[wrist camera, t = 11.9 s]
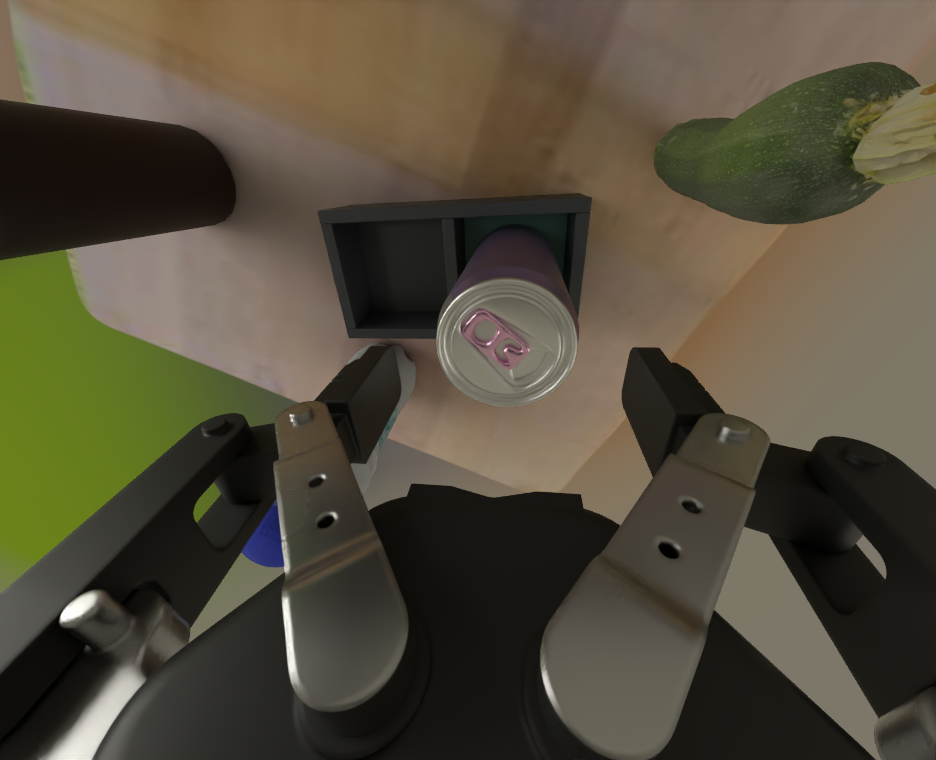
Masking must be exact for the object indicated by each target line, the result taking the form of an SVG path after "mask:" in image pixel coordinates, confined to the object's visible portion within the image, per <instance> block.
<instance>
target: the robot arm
mask: <svg viewBox="0 0 936 760" xmlns="http://www.w3.org/2000/svg"><path fill="white" fill-rule="evenodd" d="M400 397H401V380H400V375H399V369H398V364H397V359H396V353H395V350H394V348H393V346H370V347H369V348H368V349H367V350H366V352H365V353H364V354H363V355H362V356H361V357H360V359H356V360H354V361H352V362H351V363H349V364H347V365H346V366H344V368H343V369H342V370H341V371H340V372H339V373H338V375H336V377H335V378H334V379H333V380H332V382H330V383H329V384H328V386H327V387H326V388H325V389H324V390H323V391H322V392H321V393H320V395H319V396H318V397H317V398H316V399H315V400H314V401H307V402H302V403H298V404H296V405H293V406H291V407H289V408H287V409H286V410H284V411H283V412H281V413H280V414H279V415H278V416H277V418H276V420H275V423H273V424H267V425H261V426H255V427H249V425H248V423H247V421H246V419H245V417H244V416H243V415H241V414H237V413H231V414H224V415H219V416H216V417H214V418H211V419H208V420H207V421H204V422H202V423H201V424H199V425H197V426H196V427H195V428H193V429H192V430H191V431H190V432H189V433H188V434H186V435H185V436H184V437H183V438H182V439H181V440H179V441H178V442H177V443H176V444H175V445H174V446H172V447H171V448H170V449H169V450H168V451H167V452H166V453H164V454H163V455H162V456H161V457H160V458H158V459H157V460H156V461H155V462H154V463H153V464H151V465H150V466H149V467H148V468H147V469H146V470H144V472H142V473H141V474H140V475H139V476H137V477H136V478H135V479H134V480H133V481H132V482H130V483H129V484H128V485H127V486H126V487H125V488H124V489H122V490H121V491H120V492H119V493H118V494H116V495H115V496H114V497H113V498H112V499H111V500H110V501H108V502H107V503H106V504H105V505H104V506H102V507H101V508H100V509H99V510H98V511H97V512H95V513H94V514H93V515H92V516H91V517H90V518H88V519H87V520H86V521H85V522H84V523H83V524H81V525H80V526H79V527H78V528H77V529H76V530H74V531H73V532H72V533H71V534H70V535H69V536H67V537H66V538H65V539H64V540H63V541H62V542H60V543H59V544H58V545H57V546H56V547H55V548H54V549H52V550H51V551H50V552H49V553H48V554H46V555H45V556H44V557H43V558H42V559H41V560H40V561H38V562H37V563H36V564H35V565H34V566H32V567H31V568H30V569H29V570H28V571H27V572H25V573H24V574H23V575H22V576H21V577H20V578H18V579H17V580H16V581H15V582H14V583H13V584H11V585H10V586H9V587H8V588H7V589H6V590H4V591H3V592H2V593H1V594H0V760H875V759H874V758H873V757H872V756H871V755H870V754H869V753H868V752H867V751H866V750H865V749H864V748H863V747H862V746H861V745H860V744H859V743H858V742H857V741H855V740H854V739H853V738H852V737H851V736H850V735H849V734H848V733H847V732H846V731H845V730H844V729H843V728H841V727H840V726H839V725H838V724H837V723H836V722H835V721H834V720H833V719H832V718H831V717H829V716H828V715H827V714H826V713H825V712H824V711H823V710H822V709H821V708H820V707H819V706H818V705H816V704H815V703H814V702H813V701H812V700H811V699H810V698H809V697H808V696H807V695H806V694H805V693H804V692H803V691H801V690H800V689H799V688H798V687H797V686H796V685H795V684H794V683H793V682H791V680H789V679H788V678H787V677H786V676H785V675H784V674H783V673H782V672H781V671H780V670H779V669H777V667H775V666H774V665H773V664H772V663H771V662H770V661H769V660H768V659H767V658H766V657H765V656H764V655H762V654H761V653H760V652H759V651H758V650H757V649H756V648H755V647H754V646H753V645H752V644H751V643H749V642H748V641H747V640H746V639H745V638H744V637H743V636H742V635H741V634H740V633H739V632H738V631H737V630H735V629H734V628H733V627H732V626H731V625H730V624H729V623H728V622H727V621H726V620H725V619H724V618H722V617H721V616H720V615H719V614H718V613H717V612H716V611H715V610H714V608H715V605H716V603H717V600H718V597H719V594H720V592H721V588H722V586H723V583H724V580H725V578H726V575H727V572H728V569H729V566H730V564H731V561H732V558H733V555H734V552H735V549H736V547H737V544H738V541H739V538H740V535H741V533H742V530H743V527H747V528H750V529H753V530H757V531H760V532H763V533H766V534H769V536H770V538H771V540H772V541H773V543H774V544H775V546H776V548H777V549H778V551H779V553H780V555H781V556H782V558H783V560H784V561H785V563H786V564H787V566H788V568H789V570H790V571H791V573H792V575H793V576H794V578H795V580H796V581H797V583H798V585H799V586H800V588H801V590H802V591H803V593H804V595H805V596H806V598H807V600H808V601H809V603H810V604H811V606H812V608H813V610H814V611H815V613H816V615H817V616H818V618H819V620H820V621H821V623H822V625H823V626H824V628H825V630H826V631H827V633H828V635H829V636H830V638H831V640H832V641H833V643H834V645H835V646H836V648H837V649H838V651H839V653H840V654H841V656H842V658H843V660H844V661H845V663H846V665H847V666H848V668H849V670H850V671H851V673H852V675H853V676H854V678H855V680H856V681H857V683H858V685H859V686H860V688H861V690H862V691H863V693H864V695H865V696H866V698H867V700H868V701H869V703H870V705H871V706H872V708H873V710H874V711H875V713H876V715H877V716H878V718H879V719H878V720H877V722H876V725H875V728H874V738H875V744H876V747H877V750H878V753H879V755H880V758H881V760H936V489H934V488H933V487H932V486H931V485H930V484H928V483H927V482H926V481H925V480H924V479H923V478H921V477H920V476H919V475H918V474H916V473H915V472H914V471H913V470H912V469H911V468H909V467H908V466H907V465H906V464H904V463H903V462H902V461H901V460H899V459H898V458H897V457H895V456H893V455H892V454H890V453H889V452H887V451H884V450H883V449H880V448H878V447H876V446H874V445H871V444H868V443H866V442H863V441H859V440H855V439H851V438H846V437H838V436H837V437H836V436H831V437H824V438H821V439H819V440H818V442H817V443H816V445H815V446H814V448H813V449H812V451H811V452H810V451H805V450H801V449H796V448H791V447H787V446H782V445H778V444H774V443H770V438H769V436H768V434H767V433H766V432H765V431H764V430H763V429H761V428H760V427H759V426H757V425H756V424H754V423H752V422H750V421H748V420H746V419H744V418H741V417H738V416H734V415H730V414H725V412H724V411H723V410H722V409H721V408H720V406H719V405H718V404H717V403H716V402H715V401H714V399H713V398H712V397H711V396H710V395H709V393H708V392H707V391H705V388H704V387H703V386H702V385H701V383H698V380H697V379H696V378H695V376H694V375H693V374H692V373H691V372H690V371H689V370H687V369H686V368H684V367H682V366H681V365H679V364H677V363H671V362H670V361H669V360H668V358H667V357H666V356H665V355H664V353H663V352H662V351H661V349H660V348H641V347H634V348H632V349H631V351H630V354H629V359H628V364H627V368H626V373H625V378H624V383H623V388H622V404H623V408H624V410H625V413H626V415H627V417H628V419H629V422H630V424H631V426H632V429H633V431H634V434H635V436H636V438H637V441H638V443H639V446H640V448H641V450H642V453H643V455H644V457H645V460H646V462H647V464H648V467H649V469H650V471H651V474H652V476H653V479H652V480H651V482H650V483H649V484H648V486H647V488H646V489H645V490H644V492H643V493H642V495H641V496H640V498H639V499H638V501H637V502H636V504H635V505H634V507H633V508H632V510H631V511H630V512H629V514H628V515H627V517H626V518H625V520H624V521H623V523H622V524H621V526H620V525H619V524H617V523H615V522H614V521H612V520H610V519H608V518H606V517H604V516H602V515H600V514H597V513H595V512H593V511H590V510H587V509H583V504H582V498H581V494H567V493H552V492H531V493H524V494H517V495H510V496H503V497H496V498H492V497H486V496H483V495H480V494H476V493H473V492H470V491H466V490H462V489H459V488H456V487H452V486H442V485H441V486H440V485H426V484H411V486H410V489H409V492H408V495H407V497H401V498H397V499H394V500H391V501H388V502H385V503H383V504H381V505H378V506H376V507H374V508H372V509H371V510H369V511H368V509H367V506H366V503H365V501H364V498H363V496H362V493H361V491H360V488H359V485H358V483H357V480H356V478H355V475H354V472H353V470H352V467H351V463H355V464H366V463H367V461H368V460H369V458H370V456H371V454H372V452H373V450H374V448H375V446H376V444H377V442H378V440H379V439H380V437H381V435H382V433H383V431H384V429H385V427H386V425H387V423H388V421H389V419H390V417H391V416H392V414H393V412H394V410H395V408H396V406H397V404H398V402H399V400H400ZM213 482H214V483H215V485H216V486H217V488H218V489H219V491H220V492H221V495H220V496H219V497H218V499H217V500H216V501H215V502H214V503H213V505H212V506H211V507H210V508H209V509H208V511H207V512H206V513H205V514H204V515H203V517H202V518H201V519H200V520H199V521H198V523H196V521H195V520H194V516H193V511H194V507H195V504H196V502H197V500H198V499H199V498H200V497H201V496H202V494H203V493H204V492H205V491H206V490H207V489H208V488H209V486H211V484H212V483H213ZM276 499H277V504H278V513H279V522H280V531H281V541H282V550H283V559H284V568H285V572H284V573H283V574H282V575H280V576H279V577H278V578H276V579H275V580H273V581H272V582H271V583H269V584H268V585H267V586H265V587H264V588H263V589H261V590H260V591H259V592H257V593H256V594H255V595H253V596H252V597H251V598H249V599H248V600H247V601H245V602H244V603H242V604H241V605H240V606H238V607H237V608H236V609H234V610H233V611H232V612H230V613H229V614H228V615H226V616H225V617H224V618H222V619H221V620H219V621H218V622H217V623H215V624H214V625H213V626H211V627H210V628H209V629H207V630H206V631H205V632H203V633H202V634H201V635H199V636H198V637H197V638H195V639H194V640H193V641H191V642H190V643H188V642H189V638H190V628H191V627H192V625H193V624H194V622H195V621H196V619H197V618H198V616H199V614H200V613H201V611H202V610H203V608H204V607H205V605H206V604H207V603H208V601H209V600H210V598H211V597H212V595H213V594H214V592H215V591H216V589H217V588H218V586H219V584H220V583H221V582H222V580H223V579H224V577H225V575H226V574H227V573H228V571H229V570H230V568H231V566H232V565H233V563H234V562H235V560H236V559H237V557H238V556H239V554H240V553H241V551H242V550H243V548H244V547H245V545H246V544H247V542H248V541H249V539H250V538H251V536H252V535H253V533H254V532H255V530H256V529H257V527H258V526H259V524H260V523H261V521H262V520H263V518H264V517H265V515H266V514H267V512H268V511H269V509H270V508H271V506H272V505H273V503H274V502H275V500H276ZM863 535H864V536H865V537H866V538H867V539H868V540H869V542H870V543H871V544H872V545H873V546H874V548H875V549H876V550H877V551H878V552H879V554H880V555H881V557H882V558H883V560H884V563H885V566H886V571H887V575H886V580H885V579H884V578H883V576H882V575H881V574H880V573H879V571H878V570H877V569H876V568H875V566H874V565H873V564H872V563H871V562H870V560H869V559H868V558H867V557H866V556H865V554H864V553H863V552H862V551H861V549H860V548H859V547H858V546H857V545H856V543H857V541H858V540H859V539H860V538H861V537H862V536H863Z"/></svg>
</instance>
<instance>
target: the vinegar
mask: <svg viewBox="0 0 936 760" xmlns="http://www.w3.org/2000/svg"><path fill="white" fill-rule="evenodd" d="M235 201H236V195H235V184H234V181H233V177H232V174H231V171H230V169H229V167H228V165H227V163H226V162H225V160H224V158H223V156H222V155H221V154H220V152H219V151H218V150H217V149H216V148H215V147H214V146H213V144H212V143H211V142H210V141H209V140H207V139H206V138H204V137H203V136H202V135H200V134H199V133H198V132H196V131H194V130H191V129H189V128H186V127H183V126H180V125H174V124H167V123H160V122H153V121H146V120H139V119H132V118H125V117H118V116H112V115H105V114H98V113H91V112H84V111H77V110H70V109H63V108H56V107H49V106H42V105H35V104H28V103H21V102H14V101H7V100H0V260H4V259H10V258H16V257H22V256H28V255H34V254H41V253H47V252H53V251H59V250H65V249H71V248H77V247H83V246H90V245H96V244H102V243H108V242H114V241H120V240H126V239H132V238H138V237H144V236H150V235H157V234H163V233H169V232H175V231H181V230H187V229H193V228H199V227H205V226H211V225H216V224H218V223H220V222H223V221H225V220H226V219H227V218H228V216H229V215H230V214H231V213H232V212H233V208H234V204H235Z"/></svg>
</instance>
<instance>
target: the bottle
mask: <svg viewBox="0 0 936 760" xmlns="http://www.w3.org/2000/svg"><path fill="white" fill-rule="evenodd" d="M370 346H388V345H384V344H383V343H382V342H374V343H371V344H369V345H368V346H366V347H364V348H362V349H361V350H359V351H358V352H357V353H356V354H355V355H354V356H353V357H352V358H351V359H350V361H349V362H348V363H347V364H349V363H351V362H352V361H354V360H356V359H360V357H361V356H362V355H363V354H364V353H365V352H366V350H367V349H368V348H369V347H370ZM393 348H394V350H395V353H396V359H397V364H398V369H399V375H400V380H401V397H400V400H399V402H398V404H397V406H396V408H395V410H394V412H393V414H392V416H391V417H390V419H389V421H388V423H387V425H386V427H385V429H384V431H383V433H382V435H381V437H380V439H379V440H378V442H377V444H376V446H375V448H374V450H373V452H372V454H371V456H370V458H369V460H368V461H367V463H366V464H355V463H351V467H352V470H353V472H354V475H355V478H356V480H357V483H358V485H359V488H360V491H361V493H362V494H363V493H364V492H365V490H366V489H367V488H368V486H369V484H370V481H371V476H372V475H373V473H374V472H375V469H376V467H377V455H378V453H379V451H380V449H381V447H382V446H383V443H384V442H385V440H386V438H387V436H388V434H389V432H390V430H391V428H392V426H393V424H394V422H395V420H396V418H397V416H398V415H399V413H400V412H401V410H402V409H403V407H404V406H405V404H406V402H407V401H408V399H409V397H410V396H411V394H412V392H413V390H414V387H415V378H416V365H415V363H414V361H413V360H409V359H408V358H407V357H406V355H405V354H404V351H403V348H402V347H400V346H398V345H393ZM347 364H346V365H347ZM241 552H242V553H243V554H244V555H245V556H246V557H247V558H248V559H250V560H251V561H253V562H255V563H257V564H260V565H262V566H267V567H283V566H284V559H283V550H282V541H281V531H280V522H279V513H278V504H277V499H276V500H275V502H274V503H273V505H272V506H271V508H270V509H269V511H268V512H267V514H266V515H265V517H264V518H263V520H262V521H261V523H260V524H259V526H258V527H257V529H256V530H255V532H254V533H253V535H252V536H251V538H250V539H249V541H248V542H247V544H246V545H245V547H244V548H243V550H242V551H241Z"/></svg>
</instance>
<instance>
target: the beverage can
mask: <svg viewBox="0 0 936 760" xmlns="http://www.w3.org/2000/svg"><path fill="white" fill-rule="evenodd" d="M578 340H579V324H578V318H577V314H576V311H575V309H574V306H573V303H572V301H571V298H570V296H569V293H568V291H567V288H566V286H565V283H564V280H563V278H562V275H561V273H560V270H559V268H558V265H557V262H556V260H555V257H554V255H553V252H552V250H551V247H550V245H549V243H548V242H547V240H546V239H545V238H544V236H543V235H542V234H541V233H539V232H538V231H537V230H535V229H533V228H531V227H529V226H526V225H522V224H508V225H504V226H501V227H498V228H496V229H495V230H493V231H491V232H490V233H489V234H488V235H487V236H486V237H485V238H484V239H483V240H482V241H481V243H480V244H479V246H478V248H477V249H476V251H475V253H474V254H473V256H472V258H471V259H470V261H469V262H468V264H467V266H466V267H465V269H464V271H463V272H462V274H461V276H460V277H459V279H458V281H457V282H456V284H455V286H454V287H453V289H452V291H451V292H450V294H449V295H448V297H447V299H446V300H445V302H444V304H443V306H442V309H441V311H440V314H439V318H438V323H437V336H436V349H437V355H438V359H439V362H440V365H441V367H442V369H443V371H444V373H445V374H446V376H447V377H448V379H449V380H450V381H451V382H452V383H453V385H454V386H455V387H456V388H458V389H459V390H460V391H461V392H462V393H464V394H465V395H467V396H468V397H470V398H472V399H474V400H476V401H478V402H481V403H484V404H488V405H492V406H498V407H517V406H523V405H527V404H530V403H533V402H536V401H538V400H540V399H542V398H544V397H546V396H548V395H549V394H551V393H552V392H553V391H555V390H556V389H557V388H558V387H559V386H560V385H561V384H562V383H563V382H564V380H565V379H566V378H567V376H568V375H569V373H570V371H571V369H572V367H573V365H574V362H575V359H576V354H577V347H578Z"/></svg>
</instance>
